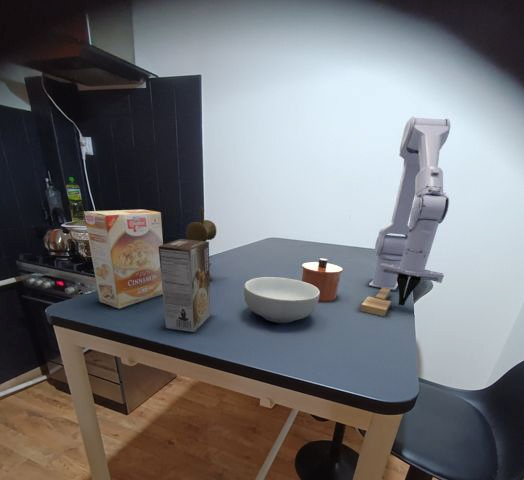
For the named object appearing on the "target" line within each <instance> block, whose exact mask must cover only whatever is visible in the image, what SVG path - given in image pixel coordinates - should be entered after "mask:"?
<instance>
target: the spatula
mask: <svg viewBox="0 0 524 480" xmlns="http://www.w3.org/2000/svg"><path fill="white" fill-rule="evenodd" d="M390 293H391V290H390V289H387V288H380V290H379V291H378V292H377V294H376V295H375V296H374V297H373V296H367V297H366V298H365V300H364V301H363V302H362V303H361V304H360V309H359V311H360V312H363V313H367V314H371V315H376V316H381V317H385V316H386V314H387V313H388V311H389V309H390V308H391V303H392V301H391V300H388V298H389V297H390Z"/></svg>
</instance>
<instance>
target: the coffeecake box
mask: <svg viewBox="0 0 524 480" xmlns="http://www.w3.org/2000/svg"><path fill="white" fill-rule="evenodd" d="M83 214H84V221H85V226H86V232H87V238H88V243H89V249H90V254H91V260H92V261H91V262H92V266H93V272H94V278H95V284H96V290H97V295H98V300H99V303H102V304H104V305H109V306H110V307H112V308H116V309H119V310H120V309H122V308H126V307H129V306H131V305H134V304H137V303H141V302H144V301H146V300H150V299H153V298H156V297H159V296H163V291H162V280H161V268H160V257H159V246H161V245H164V239H163V225H162V212H160V211H156V210H148V209H142V208H141V209H121V210H119V209H117V210H116V209H115V210H92V211H91V210H89V211H88V210H87V211H83Z"/></svg>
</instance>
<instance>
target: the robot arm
mask: <svg viewBox="0 0 524 480" xmlns="http://www.w3.org/2000/svg"><path fill="white" fill-rule="evenodd" d="M450 131H451V121H450V119H449V118H445V119H443V118H425V117H415V116H411V117H409V119H408V120H407V121H406V124H405V126H404V129H403V132H402V137H401V141H400V146H399V157H400V158H402V159H403V166H402V167H403V168H402V173H401V176H400V180H399V181H400V182H399V186H398V190H397V194H396V199H395V204H394V208H393V212H392V216H391V221H390V223H388V224H387V225H385V226H383V227H382V228H381V229H379V231H378V235H377V238H376V240H375V244H374V245H375V246H374V253H375V256H377V261H376V265H375V269H374V274H373V278H372V280H371V281H370V282H369V284H368V286H369V287H374V288H379V289H382V288H387V289H390V291H396V290H397V288H398V306H401V307H402V306H403V307H404V306H405V305H406V302H407V300H408V298H409V296H410V295H411V294H412V292H413V291H414V290H415V289H416V287H417V286H419V284H420V282H421V280H426V281H432V282H436V283H439V284H442V282H443V279H444V276H445V273H443V272H438V271H434V270H430V269H426V266H427V263H428V259H429V257H430V253H431V250H432V246H433V243H434V241H435V237H436V234H437V231H438V227H439V225H440V224H442V223H443V221H444V220H445V218H446V215H447V214H448V211H449V206H450V197H449V195H447V193H446V192H444V171H443V169H442V168H441V167H439V162H440V161H439V159H440V152H441V150H442V148H443V146H444V145H445V143H446V142H447V139H448V136H449V134H450Z"/></svg>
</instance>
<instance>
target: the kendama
mask: <svg viewBox="0 0 524 480" xmlns="http://www.w3.org/2000/svg"><path fill="white" fill-rule="evenodd" d="M199 213H200V215H199V217H200V218H199V222H198V221H193V222H190V223H189V224H187V226H186V230H185V235H186V240H196V241H206V242H207V241H212V240H213V239H215V238H216V236H217V226H216V224H215V223H214V222H213V221H212V220H208V219H205V218H204V217H205V215H204V208H203V206H201V207H200V212H199ZM210 267H211V262H209V268H210ZM209 275H210V281H211V280H212V279H213V276H212V275H211V273H210V272H209Z"/></svg>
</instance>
